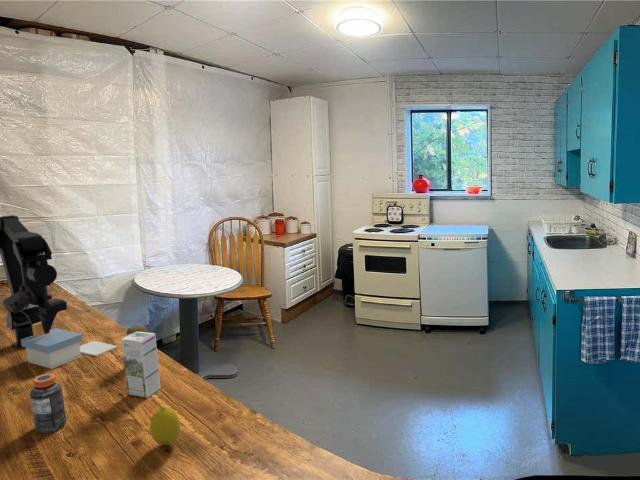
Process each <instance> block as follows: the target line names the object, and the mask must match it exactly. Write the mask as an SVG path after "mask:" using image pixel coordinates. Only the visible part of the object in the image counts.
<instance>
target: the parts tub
mask: <svg viewBox="0 0 640 480" xmlns="http://www.w3.org/2000/svg"><path fill="white" fill-rule="evenodd" d="M80 346H81V344H80V342H78V343H75V344H73V345H70V346H67V347H65V348H62V349H60V350H57V351H54V352H52V353H49V354H48V353H44V352H40V351H37V350H33V349H29V348H25V351H26V357H27V362H28V363H30V364H32V365H33V364H34V365H36V366H40V367H44V368H47V369H52V370H53V369H54V368H55V369H56V368H57V367H60V366H62V365H65V364H67V363H69V362H72V361H74V360H77V359H80V358H82V353H81V352H80Z"/></svg>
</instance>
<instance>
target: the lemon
mask: <svg viewBox="0 0 640 480" xmlns="http://www.w3.org/2000/svg"><path fill="white" fill-rule="evenodd" d="M150 419H151V420H150V425H149V426H150V428H149V429H150V434H151V436H152V439H153V440H154V442H156V443H157V444H160V445H164V446H169V445H170V444H171V443H172V442H175V440H176V438H178V436H179V434H180V431H181V423H180V422H181V421H180V418H179V415H178V413H177V412H176V410H174V409H173V408H171V407H166V406H161V408H159V409H157V410H156V411H155V412H154V413H153V415H152V416H151V418H150Z"/></svg>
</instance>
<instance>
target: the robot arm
mask: <svg viewBox="0 0 640 480" xmlns="http://www.w3.org/2000/svg"><path fill="white" fill-rule="evenodd" d="M51 250H52V249H51V248H50V246H49V244H48V242H47V241H46V239H45V238H44V237H43V236H42V235H41V234H39V233H38V232H31V231H29V230H28V229H27V228H26V227H25V225H24V224H23V223H22V222H21V221H20V219H19V216H18V215H14V214H13V215H12V214H11V215H3V216H0V259H1V263H2V267H3V269H4V273H5V276H6V277H5V278H6V281H7V284H8V288H9V292H10V296H8V297H6V298H5V299H4V300H3V301H2V304H3V305H4V308H5V309H6V310H7V314H6V318H5V319H6V320H5V321H6V326H7V328H8V329H10V330H11V331H14V336H15V341H16V342H13V343H11V346H13V347H16V348H19V349H26V348H25V347H22V345H21V340H22V339H25V338H28V337H31V336H33V329H32V324H35V323H38V322H41V323H42V327H43V330H44V333H45V334H47V333H49V331H50V330H51V329H52V325H53V323H54V321H55V319H56V316H57V315H58V313H59V312H62V311H65V310H68V302H67V301H66V300H64V299H60V298H54V299H53V297H52V294H49V292H48V291H49V290H48V286H51V284H53V283H54V282H55V281H56V279H57V277H58V272H57V270H56V268H55V267H54V266H53V265H50V264H49V263H48V260H52V259H53V255H52V254H53V252H52V251H51Z"/></svg>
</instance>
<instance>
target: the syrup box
mask: <svg viewBox="0 0 640 480" xmlns="http://www.w3.org/2000/svg"><path fill="white" fill-rule="evenodd" d="M120 340H121V347H122V356H123V358H122V359H123V364H124V365H123V366H124V374H125V382H126V390H127V396H132V397H136V398H137V397H138V398H145V399H147V398H149V397H151V396H152V395H153V394H155V393H156V392H157V391H159V390H161V388H162V387H161V379H160V377H161V376H160V368H159V367H160V366H159V358H158V348H157V347H158V346H157V337H156V333H155V332H148V331H147V332H137V331H136V332H133V333H131V334H129V335H127V334H126V335H125V337H123V338H121V339H120Z"/></svg>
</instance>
